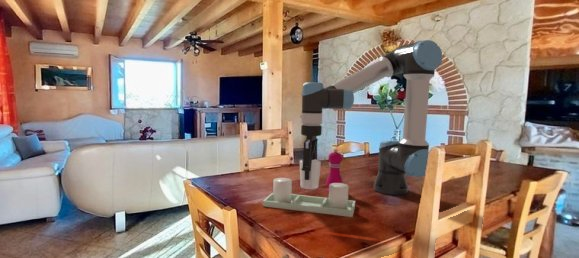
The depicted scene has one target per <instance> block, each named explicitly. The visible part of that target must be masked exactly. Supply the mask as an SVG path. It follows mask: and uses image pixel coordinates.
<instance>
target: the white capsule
mask: <svg viewBox="0 0 579 258" xmlns="http://www.w3.org/2000/svg"><path fill="white" fill-rule="evenodd" d="M272 183H273V184H272V185H273V187H272V188H273V189H272V190H273V201H275V202H283V203H291V194H292V184H293V181H292V178H286V177H277V178H274V179H273V182H272Z"/></svg>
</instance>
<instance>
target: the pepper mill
mask: <svg viewBox="0 0 579 258" xmlns="http://www.w3.org/2000/svg"><path fill="white" fill-rule="evenodd" d="M327 158H328V161H329V163H328V164H329V174H328V176H327V179H326V183H325V186H326V187H327V189H326V192H327V193H328V194H329V184H331V183H343V179H342V176H341V170H340V169H341V167H342V166H341V165H342V164H341V163H342V161H343V155H342V153H340V152H338V148H334V149H333V151H332V152H330V153H329V155H328V157H327ZM343 184H344V183H343Z"/></svg>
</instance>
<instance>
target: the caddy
mask: <svg viewBox="0 0 579 258" xmlns="http://www.w3.org/2000/svg"><path fill="white" fill-rule="evenodd" d="M328 206H329V197H322V196H315V195H313V196H312V195H304V194H303V195H302V194H295V193H291V203H283V202H275V201H273V192H271V193H270V194H269V195H268V196H267V197H265V198H264V199H263V200H262V207H267V208H276V209H282V210H283V209H284V210H291V211H299V212H300V211H301V212H307V213H316V214H324V215H333V216H341V217H347V218H348V217H350V218H353V216H354V214H355V213H354V212H355V209H356V208H355V207H356V200H351V199H350V200H349V199H348V210H344V209H335V208H328Z"/></svg>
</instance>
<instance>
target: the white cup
mask: <svg viewBox="0 0 579 258" xmlns="http://www.w3.org/2000/svg"><path fill="white" fill-rule="evenodd" d="M321 163H322V162H321V160H319V159H318V158H317V159H315V160H312V163H311V171H312V174H311V189H310V190H316V189H318V188H319V182H320V178H321V177H320V174H321ZM302 168H303V158H302V159H299V180H300V185H299V186H300V188H301V189H305V190H309V189H308V188H303V182H304V171H302Z"/></svg>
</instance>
